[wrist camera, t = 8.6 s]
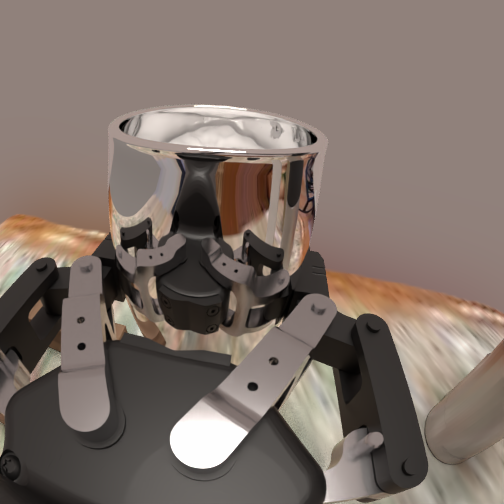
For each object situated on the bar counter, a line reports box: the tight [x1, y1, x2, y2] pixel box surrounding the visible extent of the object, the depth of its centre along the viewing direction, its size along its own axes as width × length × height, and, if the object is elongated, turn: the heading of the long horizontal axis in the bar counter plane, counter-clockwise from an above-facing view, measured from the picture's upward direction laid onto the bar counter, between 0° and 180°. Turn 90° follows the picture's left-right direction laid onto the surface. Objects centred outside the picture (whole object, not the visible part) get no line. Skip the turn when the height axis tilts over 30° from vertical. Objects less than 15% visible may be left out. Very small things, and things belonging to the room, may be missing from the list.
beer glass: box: [108, 104, 328, 366], centre depth 13 cm, size 7×7×15 cm
